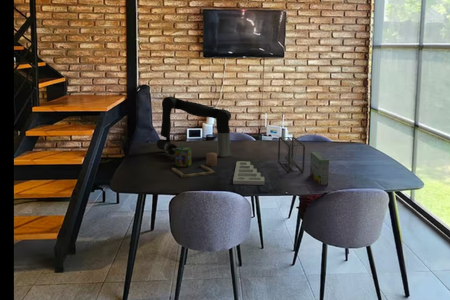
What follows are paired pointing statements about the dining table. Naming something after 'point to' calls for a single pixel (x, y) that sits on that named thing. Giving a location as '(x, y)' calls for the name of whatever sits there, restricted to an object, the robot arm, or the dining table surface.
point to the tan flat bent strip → (195, 173)
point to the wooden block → (211, 159)
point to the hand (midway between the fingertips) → (178, 153)
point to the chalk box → (183, 156)
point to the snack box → (319, 168)
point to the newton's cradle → (287, 157)
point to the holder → (247, 174)
